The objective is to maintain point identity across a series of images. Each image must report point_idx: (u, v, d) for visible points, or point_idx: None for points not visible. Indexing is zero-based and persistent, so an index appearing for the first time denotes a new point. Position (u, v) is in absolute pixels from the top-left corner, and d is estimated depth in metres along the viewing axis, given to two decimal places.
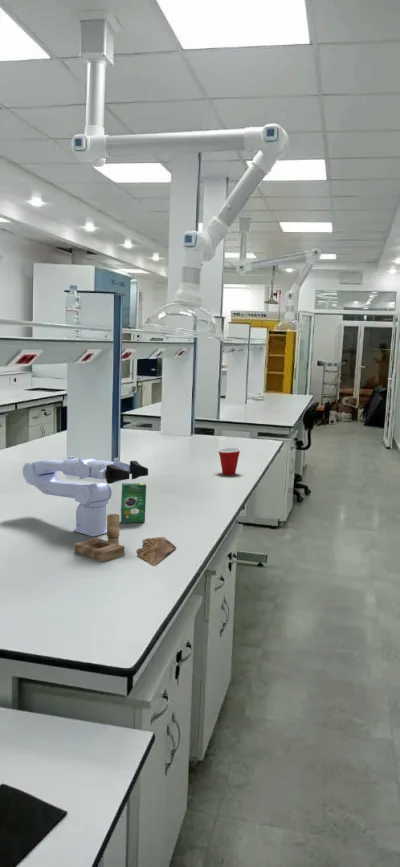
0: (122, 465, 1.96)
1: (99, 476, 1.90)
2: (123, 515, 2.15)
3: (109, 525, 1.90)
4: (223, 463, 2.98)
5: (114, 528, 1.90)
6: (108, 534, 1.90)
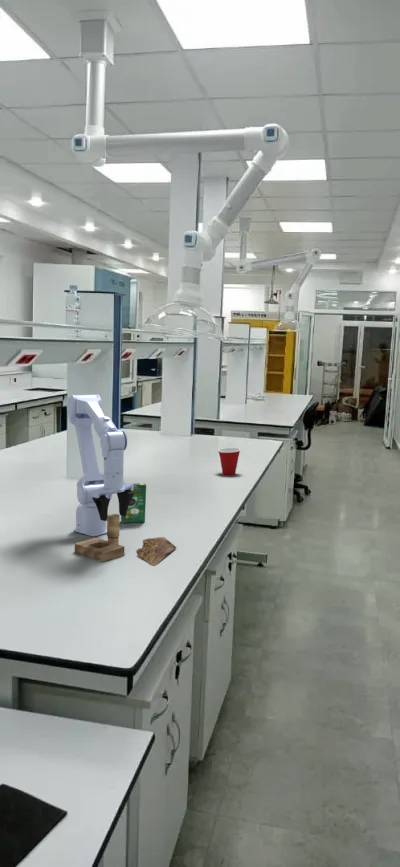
0: None
1: (93, 492, 1.84)
2: None
3: (109, 525, 1.90)
4: (223, 463, 2.98)
5: (114, 528, 1.90)
6: (108, 534, 1.90)
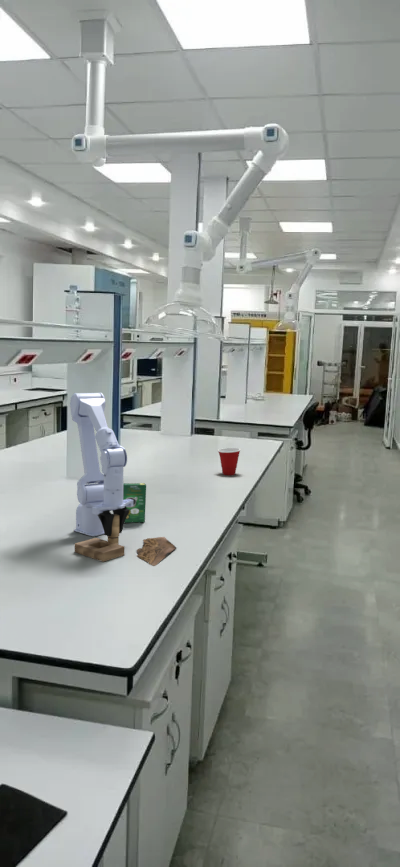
0: None
1: (93, 509, 1.85)
2: None
3: None
4: (223, 463, 2.98)
5: (114, 528, 1.90)
6: None
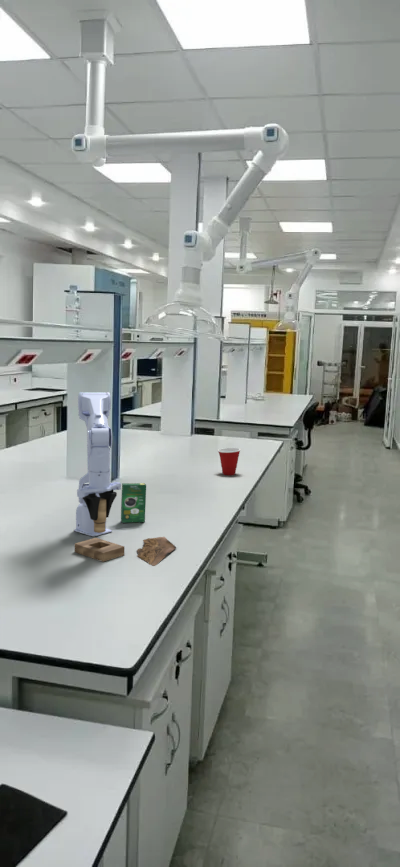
0: None
1: (78, 491, 1.76)
2: (123, 515, 2.15)
3: None
4: (223, 463, 2.98)
5: (100, 513, 1.81)
6: None
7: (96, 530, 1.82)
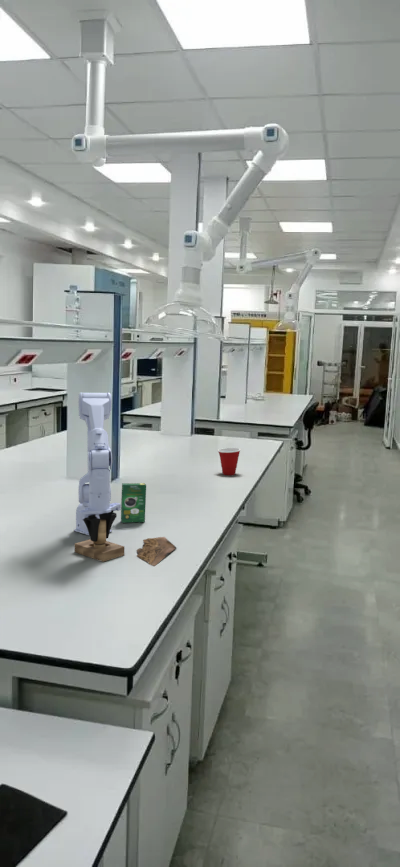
0: None
1: (78, 513, 1.77)
2: (123, 515, 2.15)
3: None
4: (223, 463, 2.98)
5: (100, 534, 1.81)
6: None
7: None
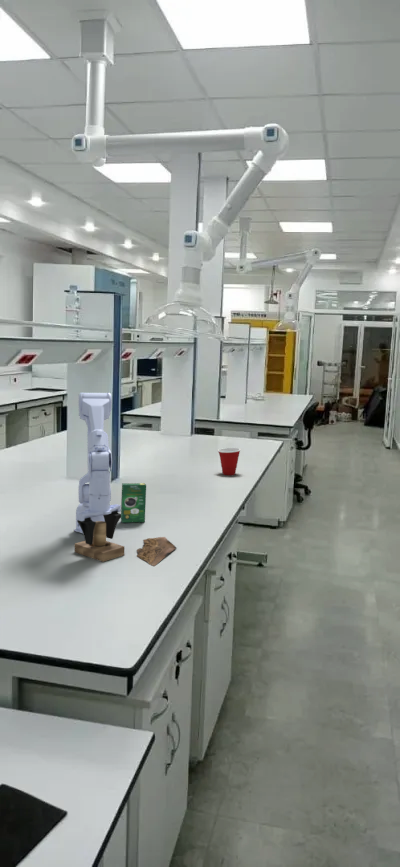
0: None
1: (78, 515, 1.77)
2: (123, 515, 2.15)
3: (95, 532, 1.82)
4: (223, 463, 2.98)
5: (100, 536, 1.81)
6: (94, 542, 1.82)
7: None
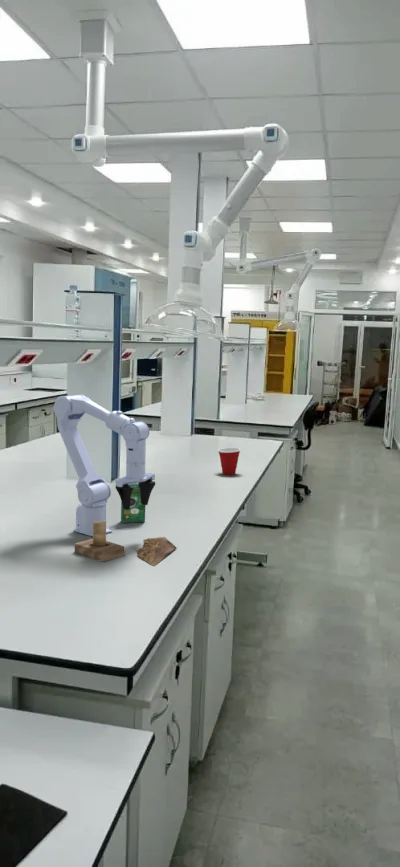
0: None
1: (116, 481, 1.90)
2: (123, 515, 2.15)
3: (95, 532, 1.82)
4: (223, 463, 2.98)
5: (100, 536, 1.81)
6: (94, 542, 1.82)
7: None
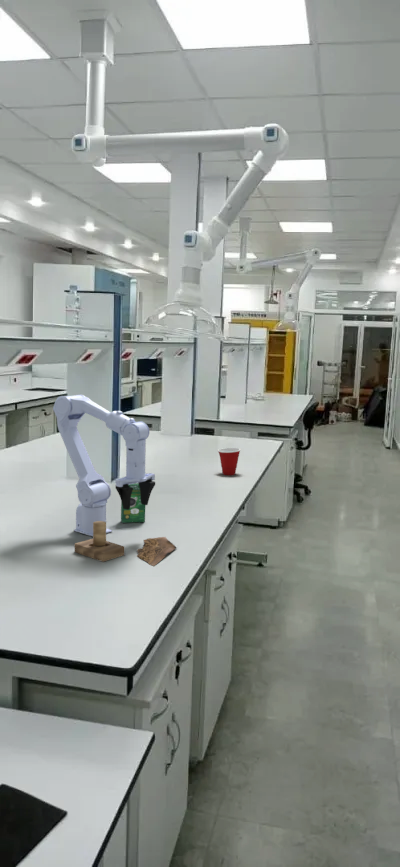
0: None
1: (116, 481, 1.90)
2: (123, 515, 2.15)
3: (95, 532, 1.82)
4: (223, 463, 2.98)
5: (100, 536, 1.81)
6: (94, 542, 1.82)
7: None
